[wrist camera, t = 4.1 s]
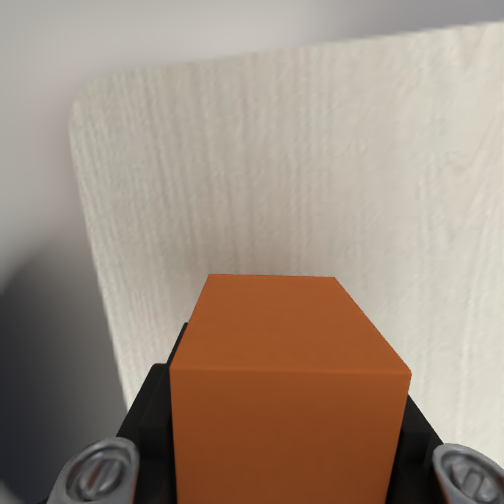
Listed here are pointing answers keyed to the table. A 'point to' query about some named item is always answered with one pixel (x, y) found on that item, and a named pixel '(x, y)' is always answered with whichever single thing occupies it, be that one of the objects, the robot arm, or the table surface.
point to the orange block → (284, 396)
